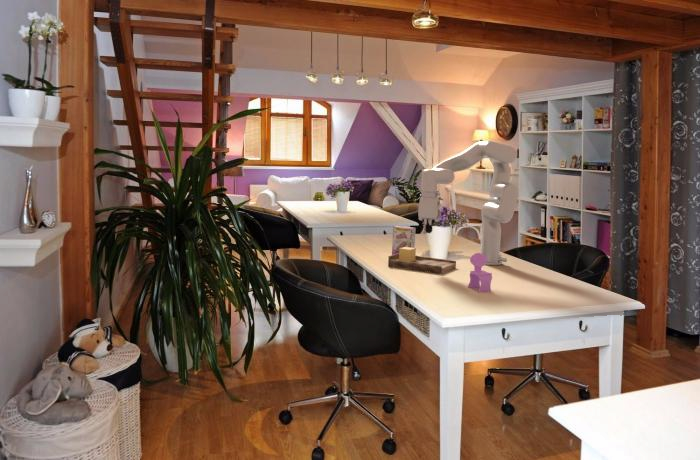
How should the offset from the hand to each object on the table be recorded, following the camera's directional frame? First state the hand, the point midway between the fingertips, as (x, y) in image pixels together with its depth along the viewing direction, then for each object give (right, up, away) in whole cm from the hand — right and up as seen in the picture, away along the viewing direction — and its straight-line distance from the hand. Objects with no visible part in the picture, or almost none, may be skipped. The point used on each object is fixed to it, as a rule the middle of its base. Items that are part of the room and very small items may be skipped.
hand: (428, 232), depth 293 cm
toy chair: (+16, -24, -40) cm, 49 cm away
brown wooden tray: (-3, -17, +3) cm, 17 cm away
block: (-10, -14, +7) cm, 18 cm away
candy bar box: (-10, -14, +27) cm, 32 cm away
